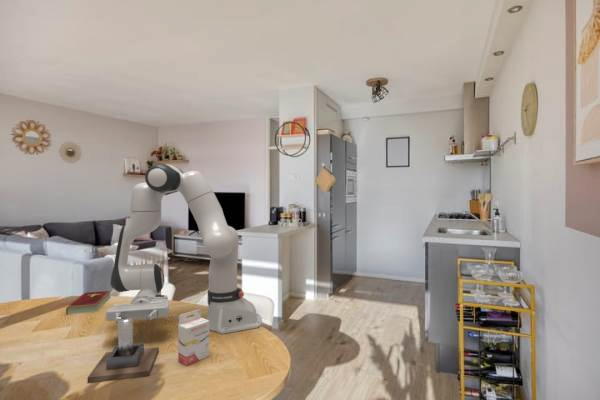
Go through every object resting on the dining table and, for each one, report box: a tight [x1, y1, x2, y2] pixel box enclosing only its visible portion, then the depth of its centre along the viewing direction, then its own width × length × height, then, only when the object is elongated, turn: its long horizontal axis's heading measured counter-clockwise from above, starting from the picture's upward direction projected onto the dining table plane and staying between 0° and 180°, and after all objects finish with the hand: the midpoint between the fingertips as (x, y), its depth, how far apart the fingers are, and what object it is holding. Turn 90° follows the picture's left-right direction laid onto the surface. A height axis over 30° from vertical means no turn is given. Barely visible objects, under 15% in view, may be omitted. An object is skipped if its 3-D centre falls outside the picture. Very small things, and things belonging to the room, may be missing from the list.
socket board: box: [86, 346, 160, 384], centre depth 103 cm, size 16×15×2 cm
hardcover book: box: [65, 290, 112, 316], centre depth 157 cm, size 12×21×4 cm, turn 14°
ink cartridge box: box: [177, 308, 210, 367], centre depth 107 cm, size 9×5×15 cm, turn 141°
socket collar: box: [106, 343, 145, 370], centre depth 103 cm, size 8×8×3 cm
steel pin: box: [117, 317, 134, 357], centre depth 103 cm, size 4×4×13 cm
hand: (133, 319), depth 112 cm, fingers open, 8 cm apart
